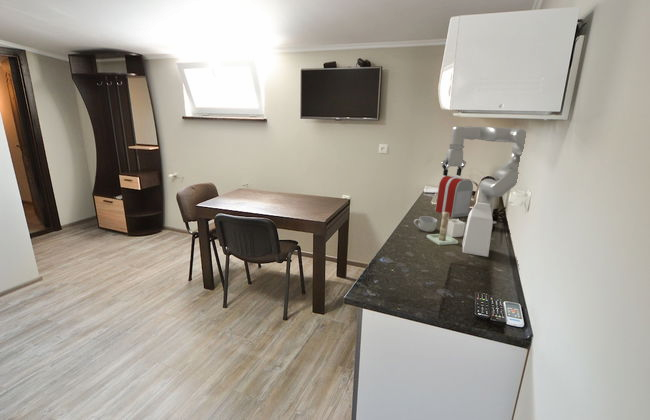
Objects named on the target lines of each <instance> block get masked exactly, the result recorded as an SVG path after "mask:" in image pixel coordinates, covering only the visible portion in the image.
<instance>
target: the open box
mask: <svg viewBox="0 0 650 420" xmlns="http://www.w3.org/2000/svg"><path fill="white" fill-rule="evenodd" d="M465 229H466V222H464V221H462V220H460V219H457V218H455V219H453V218H452V219H450V218H449V221H448V227H447V235H448V236H450V237H452V238H459V237H464V234H465Z"/></svg>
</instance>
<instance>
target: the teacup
mask: <svg viewBox="0 0 650 420" xmlns="http://www.w3.org/2000/svg"><path fill="white" fill-rule="evenodd" d="M417 222H418V224H417ZM437 223H438V219H437V218H435V217H433V216H430V215H429V216H428V215H422V216H421V215H420V216H419V218H416V219H414V220H413V224H414V225H415V226H416V227H417V228H418V229H419V230H421V231H422V232H425V233H432V232H434V231H435V230H436V228H437V225H438V224H437Z"/></svg>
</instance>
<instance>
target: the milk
mask: <svg viewBox="0 0 650 420" xmlns="http://www.w3.org/2000/svg"><path fill="white" fill-rule="evenodd" d="M493 221H494V220H493V213H491V208H490V204H485V203H478V202H476V203H475V204H474V206H472V208H471V210H469V215H468V216H467V219H466V224H465V229H464V234H463V239H462V243H461V244H462V249H461V250H462V253H464V254H468V255H469V254H470V255H475V256H482V257H488V258H489V253H490V245H491V239H492V238H491V237H492V232H493V231H492V230H493V228H492V227H493V225H494V224H493Z"/></svg>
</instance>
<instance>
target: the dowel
mask: <svg viewBox="0 0 650 420" xmlns="http://www.w3.org/2000/svg"><path fill="white" fill-rule="evenodd" d="M449 215H450V213H449V212H443V214H441V222H440V228H439V233H438V234H439V240H441V241H445V240H446V234H447V227H448V221H449V220H450V217H449Z"/></svg>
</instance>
